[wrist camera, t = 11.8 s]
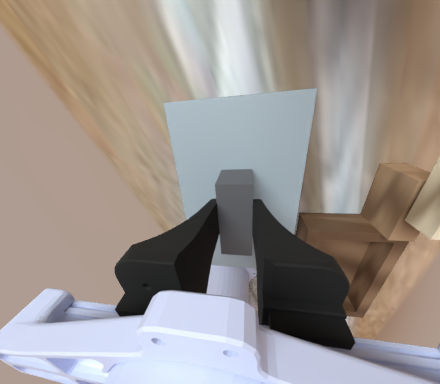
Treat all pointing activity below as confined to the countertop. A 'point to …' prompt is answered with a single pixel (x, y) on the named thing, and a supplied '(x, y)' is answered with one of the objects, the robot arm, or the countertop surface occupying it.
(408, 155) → the countertop surface
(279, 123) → the lid
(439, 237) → the block
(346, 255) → the brown angular frame
